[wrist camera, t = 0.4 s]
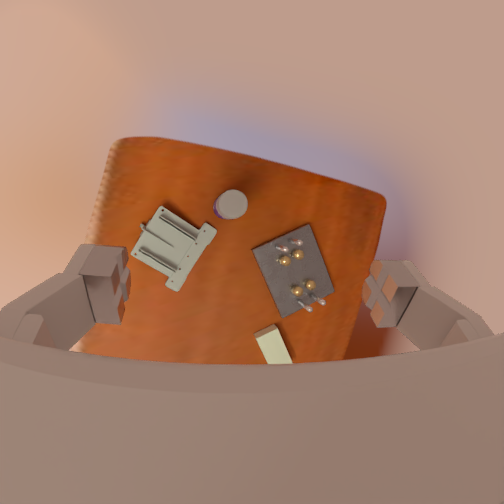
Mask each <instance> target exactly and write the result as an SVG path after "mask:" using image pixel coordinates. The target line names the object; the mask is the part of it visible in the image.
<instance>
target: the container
mask: <svg viewBox="0 0 504 504" xmlns="http://www.w3.org/2000/svg"><path fill="white" fill-rule="evenodd" d="M247 207H248V201H247V198H246V196H245V195H244V194H243V193H242V192H241V191H238V190H228V191H226V192H224V193H223V194H221V195H220V196H219V197H218V198H217V199H216V201H215V202H214V205H213V210H214V213H215V214H216V215H217V216H218V217H219V218H222V219H235V218H238V217H241V216H242V215H243V214H244V213H245V212H246V210H247Z"/></svg>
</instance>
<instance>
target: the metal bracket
mask: <svg viewBox="0 0 504 504" xmlns="http://www.w3.org/2000/svg"><path fill="white" fill-rule="evenodd" d="M162 209H164V211H163V212H162V211H161V210H162ZM139 227H141V228H142V230H143V231H142V232H141V234H140V238H139V240H138V242H137V243H136V245H135V247H134V248H133V250H132V252H131V255H132V256H134V257H135V258H137V259H139V260H141V261H142V262H144V263H146V264H147V265H149V266H151V267H153V268H154V269H156V270H158V271H160V272H161V273H163V274H165V275H167V276H168V277H169V278H168V280H167V282H166V283H165V285H166V286H167V287H168V288H170V289H172V290H174V291H179V289H180V288H181V286H182V285H183V283H184V282H185V280H186V277H187V275H188V274H189V272H190V270H191V269H192V267H193V266H194V264H195V263H196V261H197V260H198V258H199V257H200V255H201V253H202V252H203V250H204V249H205V247H206V246H207V245H209V244H210V242H211V241H212V239H213V238H214V236H215V235H216V233H217V230H216V229H214V228H213V227H211V226H210V225H208V224H207V223H204V224H203V226H202V227H201V229H200V230H198V229H196V228H195V227H193V226H192V225H190V224H189V223H187V222H185V221H184V220H182V219H181V218H179V217H178V216H176V215H175V214H173V213H172V212H170V211H169V210H167V209H166V208H164V207H163V206H160V207H159V208H158V210H157V211H156V213H155V214H154V216H153V218H152V219H151V221H150V220H149V221H148V223H147V224H146V226H144V225H143V224H142V223H141V224H140V226H139ZM204 230H205V232H204ZM195 243H197V244H195ZM134 253H137V255H134ZM187 256H189V257H187ZM179 268H181V269H180V270H179ZM171 281H173V282H171Z"/></svg>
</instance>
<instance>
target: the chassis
mask: <svg viewBox="0 0 504 504" xmlns="http://www.w3.org/2000/svg"><path fill="white" fill-rule="evenodd" d="M251 250H252V252H253V254H254V257H255V259H256V261H257V263H258V266H259V268H260V270H261V273H262V275H263V277H264V279H265V282H266V284H267V286H268V289H269V291H270V293H271V295H272V298H273V300H274V302H275V305H276V307H277V309H278V311H279V314H280V316H281V317H282V318H284V317H286V316H288V315H290V314H292V313H294V312H296V311H298V310H300V309H302V308H305V309H306V310H307V311H308V312H312V311H313V308H312V307H310V306H309V305H310V304H312V303H314V302H316V301H317V302H319V303H320V304H321V305H325V304H326V301H324V300H323V299H321V298H323V297H325V296H327V295H329V294H331V293H333V292H334V288H333V285H332V283H331V280H330V277H329V274H328V272H327V269H326V266H325V264H324V261H323V258H322V256H321V253H320V250H319V248H318V245H317V243H316V240H315V237H314V235H313V232H312V230H311V227H310V225H309V224H306V225H303V226H301V227H299V228H297V229H295V230H293V231H290V232H288V233H286V234H284V235H282V236H280V237H277V238H275V239H273V240H271V241H269V242H266V243H264V244H262V245H260V246H258V247H256V248H253V249H251Z"/></svg>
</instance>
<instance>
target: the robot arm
mask: <svg viewBox="0 0 504 504" xmlns="http://www.w3.org/2000/svg"><path fill="white" fill-rule="evenodd" d="M127 261H128V252H127V248H126V247H123V246H109V245H95V244H81V245H80V246H79V247H78V249H77V251H76V252H75V254H74V256H73V257H72V259H71V260H70V262H69V263H68V265H67V267H66V268H65V270H64V272H63V273H58V274H56V275H54V276H53V277H51V278H49V279H48V280H46V281H44V282H43V283H41V284H39V285H38V286H36V287H34V288H33V289H31V290H30V291H28V292H26V293H25V294H23V295H22V296H20V297H18V298H17V299H15V300H13V301H12V302H10V303H9V304H7V305H6V306H4V307H3V308H2V310H1V311H0V504H504V333H501V334H497V335H494V334H493V333H492V331H491V330H490V328H489V327H488V325H487V324H486V323H485V321H484V320H483V319H482V317H481V316H480V315H478V314H477V313H475V312H474V311H472V310H470V309H469V308H467V307H466V306H464V305H462V304H461V303H459V302H458V301H456V300H455V299H453V298H452V297H450V296H449V295H447V294H445V293H444V292H442V291H440V290H439V289H437V288H436V287H431V285H430V284H429V283H428V281H427V280H426V279H425V278H424V276H423V275H422V274H421V273H420V271H419V270H418V269H417V268H416V266H415V265H414V264H413V263H412V262H411V261H408V260H374V261H373V263H372V264H371V266H370V269H369V271H370V274H371V275H370V276H369V277H368V278H367V279H365V281H364V284H363V287H362V299H363V302H364V303H365V306H367V307H368V308H370V309H371V313H370V315H371V317H372V319H373V321H374V323H375V325H376V327H377V328H381V327H396V328H397V329H398V330H399V331H401V333H403V334H404V335H405V336H406V337H407V338H408V339H409V340H410V341H411V342H412V343H413V344H414V345H416V346H417V347H418V348H419V349H420V351H415V352H408V353H401V354H394V355H387V356H378V357H370V358H361V359H350V360H339V361H327V362H311V363H291V364H246V365H236V364H193V363H173V362H158V361H146V360H135V359H126V358H117V357H109V356H101V355H94V354H87V353H80V352H74V351H68V350H69V349H70V348H71V347H72V346H73V345H74V344H76V343H77V342H78V341H79V340H80V339H81V338H82V337H83V336H84V335H85V334H86V333H87V332H88V331H89V330H90V329H91V328H92V327H93V326H94V325H95V323H105V324H118V325H121V322H122V319H123V315H124V312H125V306H124V302H125V301H127V300H128V298H129V294H130V287H131V275H130V270H129V269H128V268H127V267H126V264H127Z"/></svg>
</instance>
